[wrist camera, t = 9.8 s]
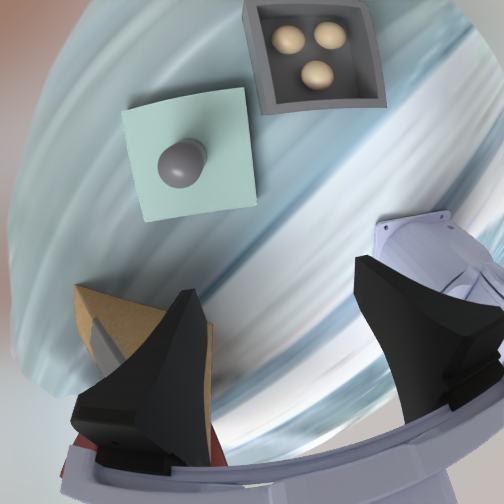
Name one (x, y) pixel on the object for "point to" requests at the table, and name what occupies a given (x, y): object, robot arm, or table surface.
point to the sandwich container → (125, 334)
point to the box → (313, 55)
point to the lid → (191, 154)
